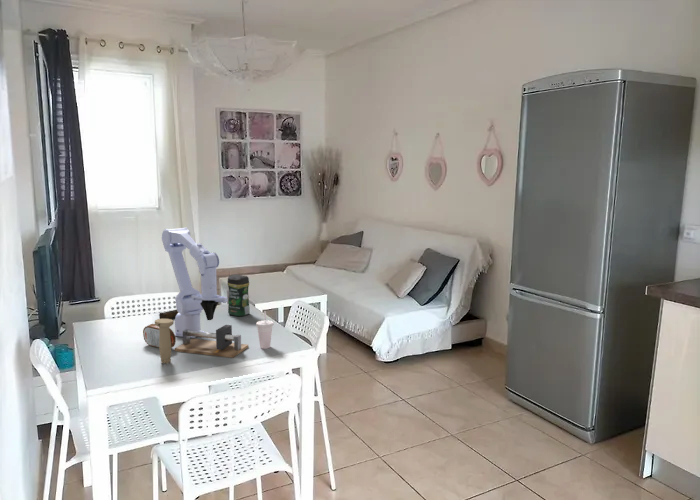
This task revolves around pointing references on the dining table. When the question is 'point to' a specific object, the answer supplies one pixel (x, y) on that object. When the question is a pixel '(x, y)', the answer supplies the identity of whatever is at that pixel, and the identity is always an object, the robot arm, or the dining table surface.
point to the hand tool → (168, 314)
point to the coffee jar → (238, 295)
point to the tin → (155, 336)
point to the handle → (164, 339)
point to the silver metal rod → (211, 335)
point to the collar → (223, 337)
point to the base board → (209, 348)
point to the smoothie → (264, 332)
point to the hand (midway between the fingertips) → (210, 319)
